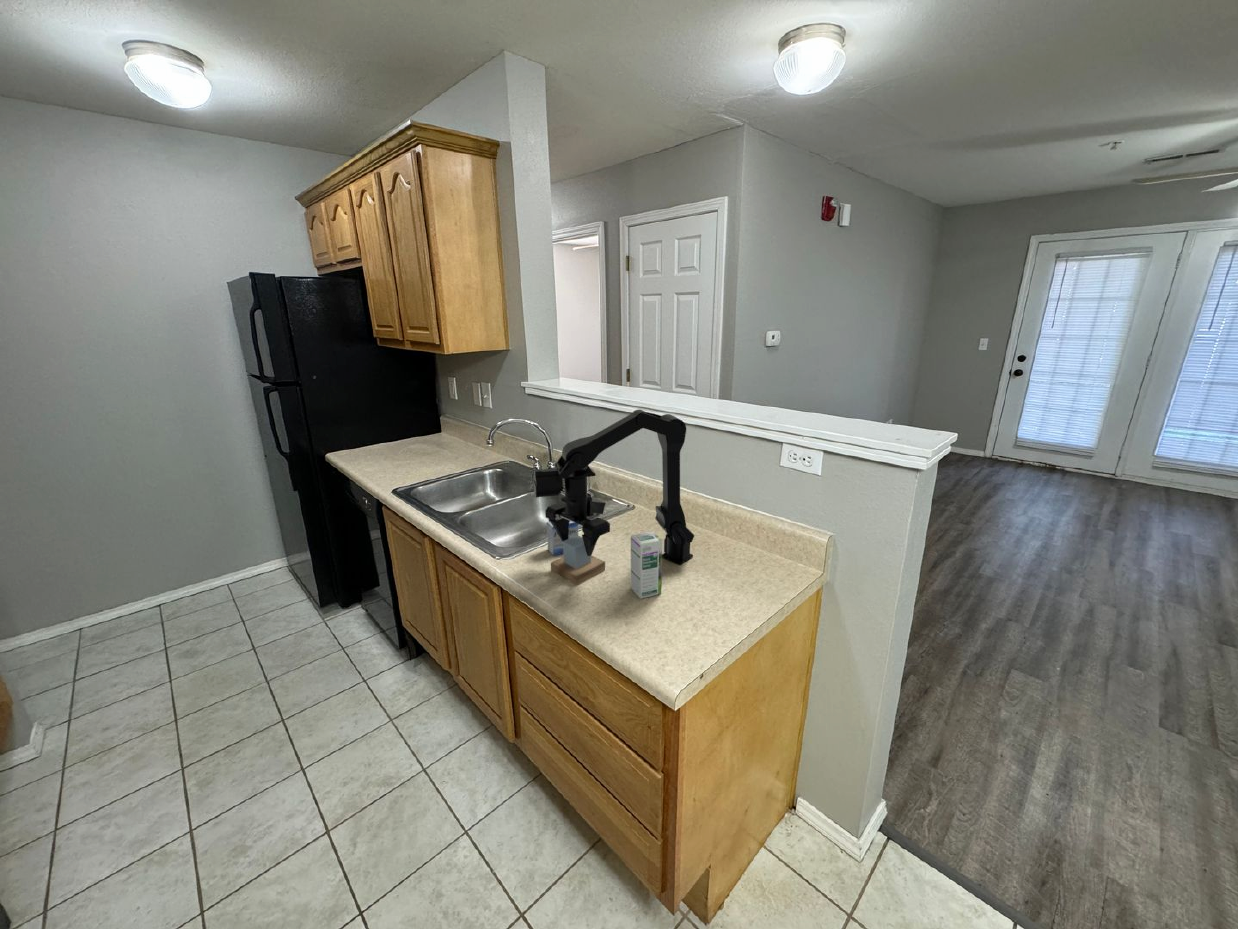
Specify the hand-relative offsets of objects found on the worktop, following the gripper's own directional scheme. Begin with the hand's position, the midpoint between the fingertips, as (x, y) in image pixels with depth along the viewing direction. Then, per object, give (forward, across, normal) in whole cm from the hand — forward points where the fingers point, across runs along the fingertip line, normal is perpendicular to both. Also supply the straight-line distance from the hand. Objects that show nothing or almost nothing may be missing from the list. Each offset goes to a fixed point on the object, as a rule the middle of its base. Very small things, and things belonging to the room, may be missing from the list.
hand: (577, 549), depth 129 cm
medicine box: (+6, +12, -5) cm, 14 cm away
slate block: (+4, 0, 0) cm, 4 cm away
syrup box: (+6, -19, -5) cm, 21 cm away
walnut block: (+7, 0, 0) cm, 7 cm away
